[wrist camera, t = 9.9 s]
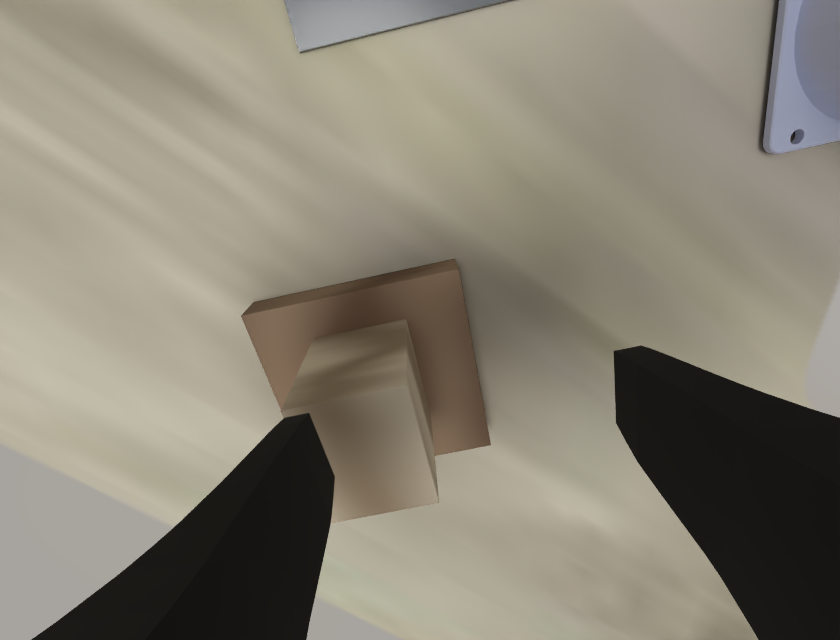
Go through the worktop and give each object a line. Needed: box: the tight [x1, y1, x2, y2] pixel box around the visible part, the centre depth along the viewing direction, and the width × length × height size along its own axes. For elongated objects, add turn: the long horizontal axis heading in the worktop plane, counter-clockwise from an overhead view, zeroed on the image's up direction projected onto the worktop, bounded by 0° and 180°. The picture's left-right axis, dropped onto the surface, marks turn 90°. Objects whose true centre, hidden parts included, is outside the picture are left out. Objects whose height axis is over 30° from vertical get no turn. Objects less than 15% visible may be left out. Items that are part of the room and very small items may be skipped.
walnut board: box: [241, 259, 491, 456], centre depth 19 cm, size 9×9×2 cm
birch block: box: [281, 319, 439, 523], centre depth 16 cm, size 4×5×5 cm
